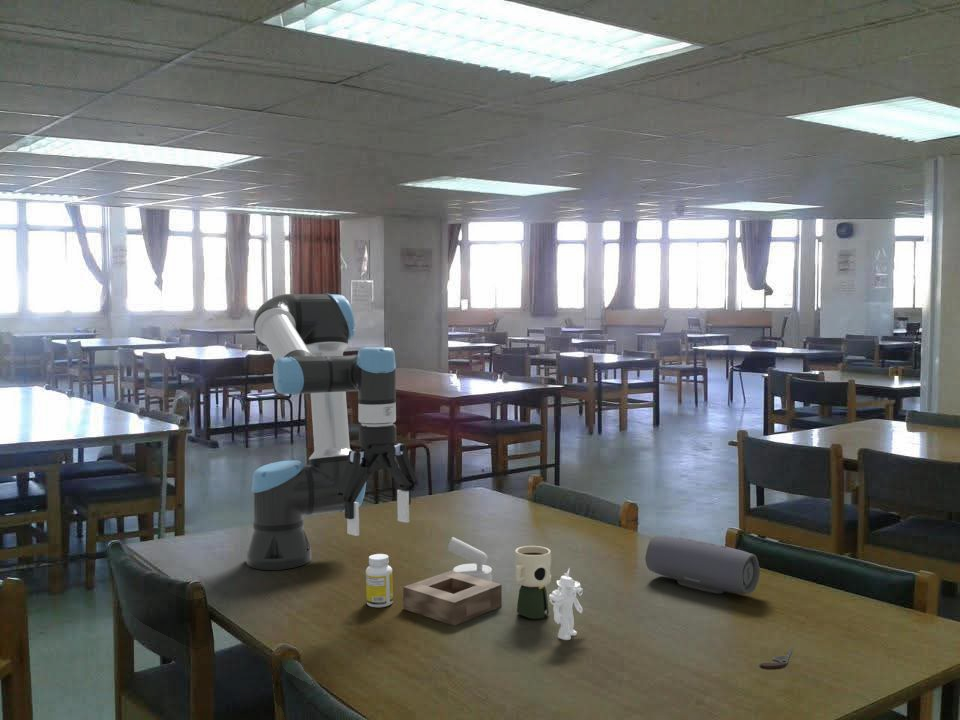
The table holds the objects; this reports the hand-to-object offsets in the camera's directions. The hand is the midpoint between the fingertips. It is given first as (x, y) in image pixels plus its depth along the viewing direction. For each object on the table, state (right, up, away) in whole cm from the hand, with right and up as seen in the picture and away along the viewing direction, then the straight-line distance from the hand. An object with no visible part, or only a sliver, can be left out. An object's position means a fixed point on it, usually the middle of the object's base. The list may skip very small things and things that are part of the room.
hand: (379, 528), depth 176 cm
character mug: (+31, -16, -6) cm, 35 cm away
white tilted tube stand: (+18, -15, +16) cm, 28 cm away
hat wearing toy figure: (+36, -17, -16) cm, 43 cm away
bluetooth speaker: (+68, -15, +11) cm, 71 cm away
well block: (+15, -16, -1) cm, 22 cm away
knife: (+72, -18, -25) cm, 79 cm away
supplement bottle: (0, -16, +1) cm, 16 cm away
